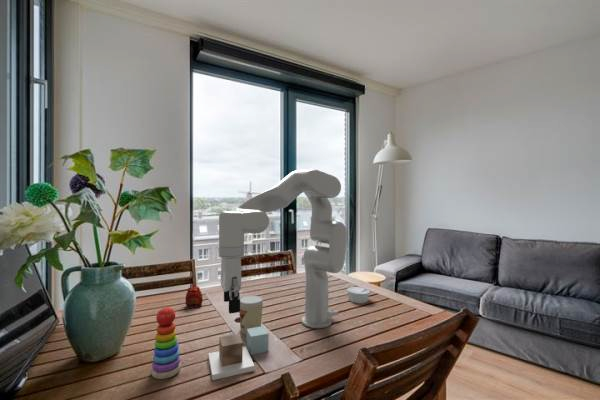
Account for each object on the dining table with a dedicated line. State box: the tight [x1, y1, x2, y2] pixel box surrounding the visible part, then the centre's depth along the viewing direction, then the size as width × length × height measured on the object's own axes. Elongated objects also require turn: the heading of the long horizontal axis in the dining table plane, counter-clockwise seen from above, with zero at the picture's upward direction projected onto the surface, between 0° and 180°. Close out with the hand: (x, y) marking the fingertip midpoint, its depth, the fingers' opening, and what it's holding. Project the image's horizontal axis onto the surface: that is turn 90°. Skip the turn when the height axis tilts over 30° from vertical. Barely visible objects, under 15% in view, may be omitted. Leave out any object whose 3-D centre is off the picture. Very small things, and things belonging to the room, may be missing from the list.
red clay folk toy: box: [185, 274, 204, 309], centre depth 135 cm, size 8×7×15 cm
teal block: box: [246, 325, 269, 355], centre depth 97 cm, size 6×6×6 cm
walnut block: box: [218, 333, 244, 367], centre depth 88 cm, size 6×6×6 cm
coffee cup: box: [238, 294, 264, 336], centre depth 111 cm, size 9×9×12 cm
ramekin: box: [346, 286, 371, 304], centre depth 145 cm, size 11×11×5 cm
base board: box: [208, 345, 255, 381], centre depth 88 cm, size 12×12×2 cm
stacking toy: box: [151, 307, 182, 380], centre depth 84 cm, size 8×8×19 cm
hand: (231, 306), depth 88 cm, fingers open, 9 cm apart
